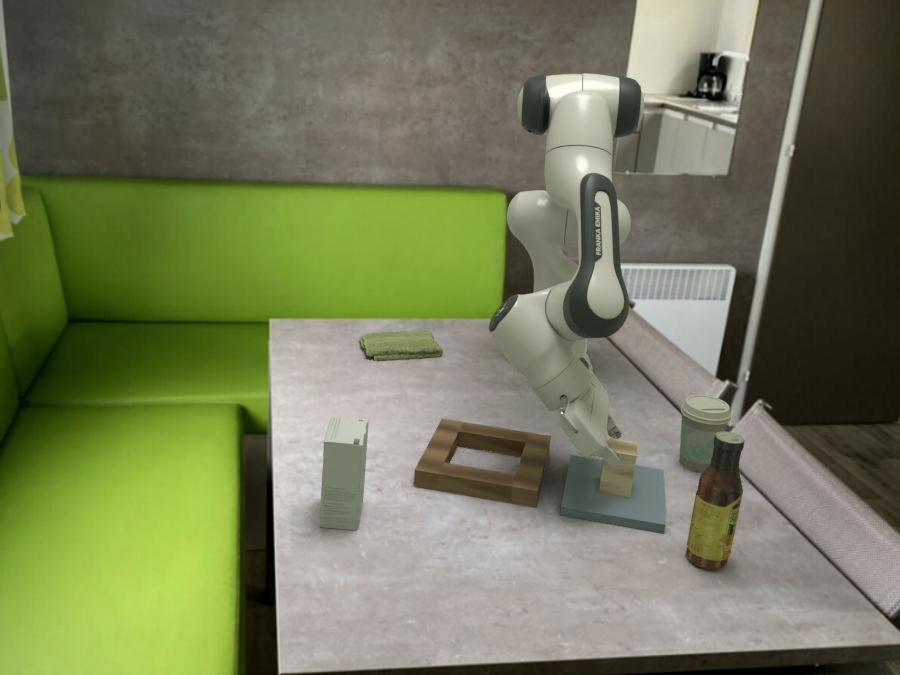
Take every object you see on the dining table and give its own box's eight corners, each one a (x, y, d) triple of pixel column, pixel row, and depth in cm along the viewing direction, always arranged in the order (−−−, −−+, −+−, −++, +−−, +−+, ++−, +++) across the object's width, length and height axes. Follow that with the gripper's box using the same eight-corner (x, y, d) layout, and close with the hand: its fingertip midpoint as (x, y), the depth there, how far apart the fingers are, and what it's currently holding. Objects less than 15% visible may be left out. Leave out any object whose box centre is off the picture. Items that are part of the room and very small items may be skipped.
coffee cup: (668, 469, 153) (680, 407, 149) (674, 449, 161) (685, 389, 156) (718, 480, 151) (731, 418, 146) (722, 459, 158) (734, 399, 154)
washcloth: (356, 342, 201) (357, 329, 200) (430, 339, 206) (431, 327, 205) (367, 363, 190) (367, 349, 188) (444, 360, 194) (446, 347, 193)
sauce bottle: (729, 575, 124) (757, 452, 118) (685, 567, 125) (709, 445, 119) (725, 550, 131) (751, 431, 124) (683, 543, 132) (706, 424, 125)
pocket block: (440, 433, 160) (441, 418, 159) (549, 450, 156) (550, 435, 155) (413, 486, 141) (414, 469, 140) (535, 507, 138) (537, 490, 137)
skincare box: (326, 499, 136) (329, 413, 130) (365, 502, 136) (369, 416, 131) (318, 529, 128) (321, 439, 123) (359, 532, 128) (363, 442, 123)
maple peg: (600, 477, 146) (606, 437, 143) (630, 482, 145) (637, 442, 142) (598, 492, 141) (605, 450, 138) (630, 497, 140) (636, 456, 137)
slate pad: (569, 462, 153) (570, 454, 152) (662, 477, 150) (663, 469, 150) (560, 514, 136) (561, 506, 136) (663, 533, 134) (665, 524, 133)
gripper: (574, 400, 128) (632, 470, 130) (584, 352, 147) (634, 413, 149) (541, 423, 130) (598, 491, 132) (554, 372, 149) (604, 433, 151)
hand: (617, 449), depth 141 cm, fingers open, 8 cm apart
